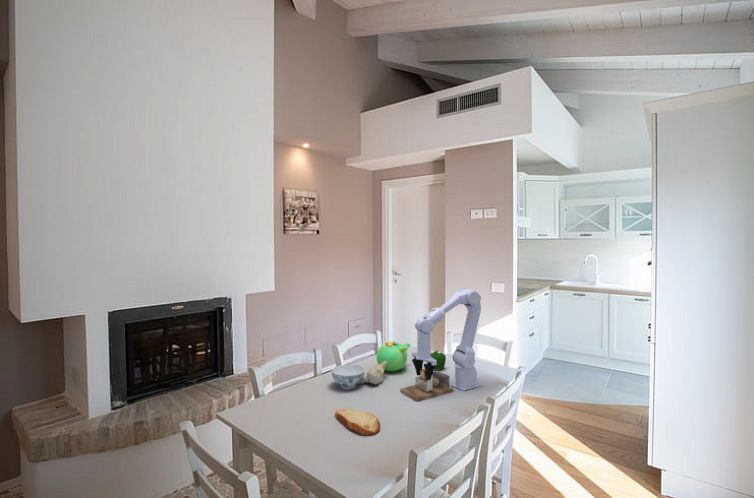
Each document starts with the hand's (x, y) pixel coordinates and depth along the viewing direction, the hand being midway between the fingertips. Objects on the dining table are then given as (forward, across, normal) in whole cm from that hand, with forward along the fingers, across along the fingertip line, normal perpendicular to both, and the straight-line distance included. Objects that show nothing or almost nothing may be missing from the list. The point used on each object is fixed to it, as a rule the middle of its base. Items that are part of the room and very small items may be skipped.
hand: (423, 377), depth 167 cm
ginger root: (+7, -24, -10) cm, 27 cm away
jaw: (+5, 0, 0) cm, 5 cm away
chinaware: (+7, -24, -24) cm, 35 cm away
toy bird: (+7, -32, +6) cm, 33 cm away
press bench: (+7, 0, +2) cm, 7 cm away
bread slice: (+7, +9, -39) cm, 40 cm away
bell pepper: (+7, -21, +26) cm, 34 cm away
